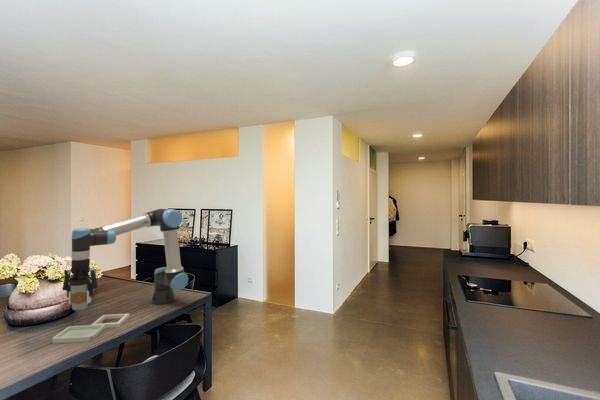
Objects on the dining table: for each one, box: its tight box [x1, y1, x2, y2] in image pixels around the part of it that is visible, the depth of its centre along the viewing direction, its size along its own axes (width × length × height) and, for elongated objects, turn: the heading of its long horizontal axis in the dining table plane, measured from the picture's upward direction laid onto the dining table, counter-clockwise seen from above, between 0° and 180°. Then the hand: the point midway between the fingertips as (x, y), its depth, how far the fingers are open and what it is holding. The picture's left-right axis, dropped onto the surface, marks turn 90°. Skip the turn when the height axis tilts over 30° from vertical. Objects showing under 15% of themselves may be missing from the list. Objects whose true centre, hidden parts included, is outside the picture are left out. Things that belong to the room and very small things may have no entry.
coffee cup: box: [69, 277, 89, 311], centre depth 147 cm, size 8×8×15 cm
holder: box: [90, 313, 130, 329], centre depth 164 cm, size 14×14×2 cm
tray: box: [50, 324, 107, 345], centre depth 148 cm, size 18×14×2 cm
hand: (80, 302), depth 147 cm, fingers closed on coffee cup, 7 cm apart
